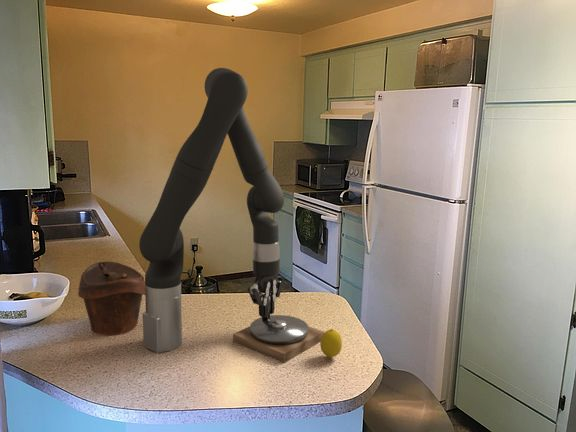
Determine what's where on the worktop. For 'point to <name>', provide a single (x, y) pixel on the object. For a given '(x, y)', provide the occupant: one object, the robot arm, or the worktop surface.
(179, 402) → the worktop surface
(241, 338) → the wheel stand
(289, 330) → the handwheel
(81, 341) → the worktop surface
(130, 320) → the chocolate muffin
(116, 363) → the worktop surface
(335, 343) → the lemon
